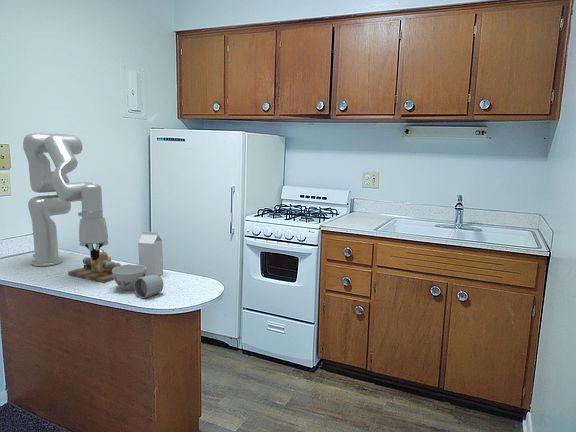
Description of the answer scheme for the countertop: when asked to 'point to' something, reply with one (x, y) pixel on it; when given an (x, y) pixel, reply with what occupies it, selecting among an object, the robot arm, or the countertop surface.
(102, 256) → the valve lever
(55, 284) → the countertop surface
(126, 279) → the teacup
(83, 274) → the stand
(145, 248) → the milk carton
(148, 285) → the ceramic mug
